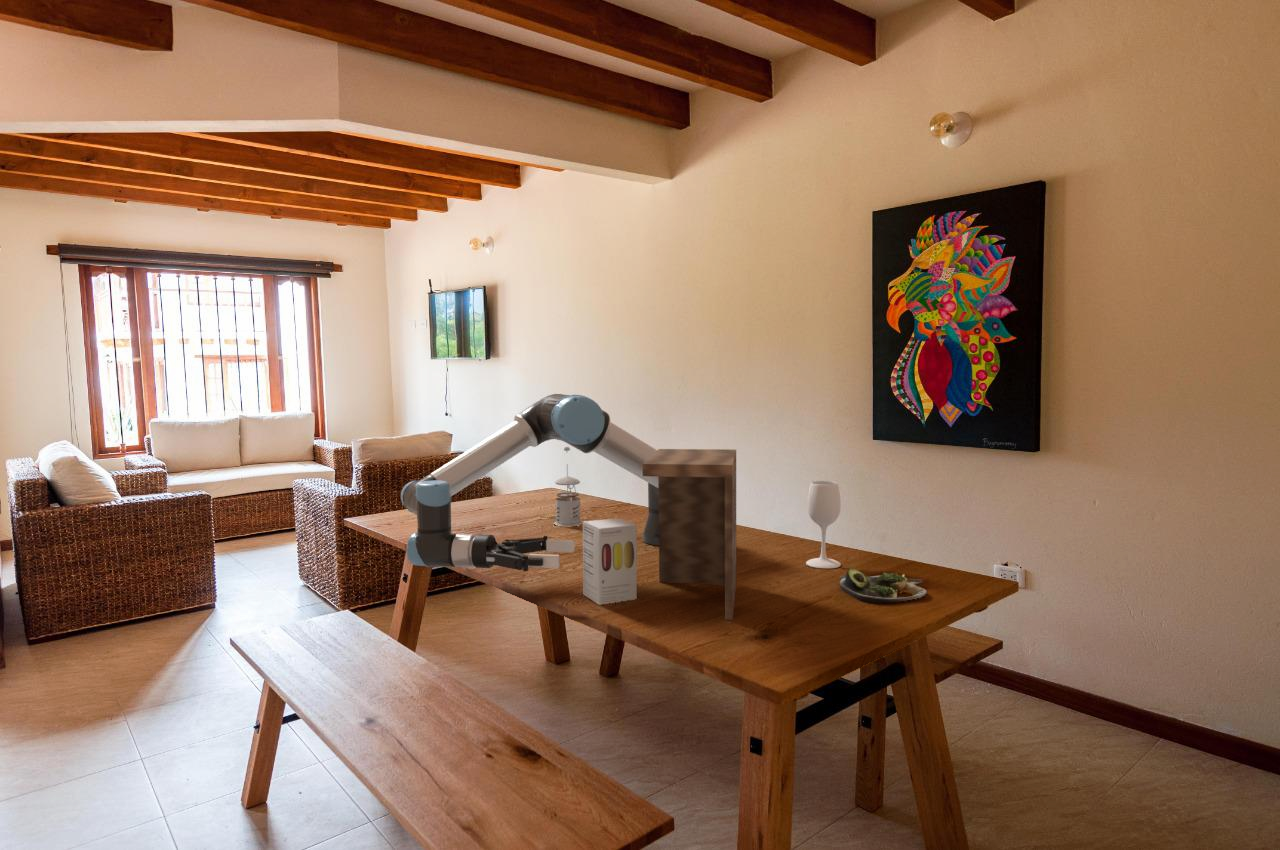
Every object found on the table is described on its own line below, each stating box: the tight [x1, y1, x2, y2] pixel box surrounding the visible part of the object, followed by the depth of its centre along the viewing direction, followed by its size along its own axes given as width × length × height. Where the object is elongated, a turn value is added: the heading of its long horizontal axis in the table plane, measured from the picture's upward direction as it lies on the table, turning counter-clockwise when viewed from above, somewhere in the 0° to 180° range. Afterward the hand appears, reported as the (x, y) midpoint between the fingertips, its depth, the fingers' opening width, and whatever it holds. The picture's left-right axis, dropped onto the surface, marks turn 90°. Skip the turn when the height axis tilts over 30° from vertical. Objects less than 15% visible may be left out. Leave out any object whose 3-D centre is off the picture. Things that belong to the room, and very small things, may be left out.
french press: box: [553, 446, 583, 527], centre depth 249 cm, size 10×12×25 cm
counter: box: [643, 448, 737, 621], centre depth 169 cm, size 18×26×32 cm
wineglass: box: [805, 480, 842, 570], centre depth 197 cm, size 9×9×21 cm
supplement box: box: [582, 517, 638, 606], centre depth 172 cm, size 10×9×17 cm
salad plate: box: [839, 568, 928, 604], centre depth 175 cm, size 19×18×5 cm
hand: (566, 553), depth 173 cm, fingers open, 13 cm apart
